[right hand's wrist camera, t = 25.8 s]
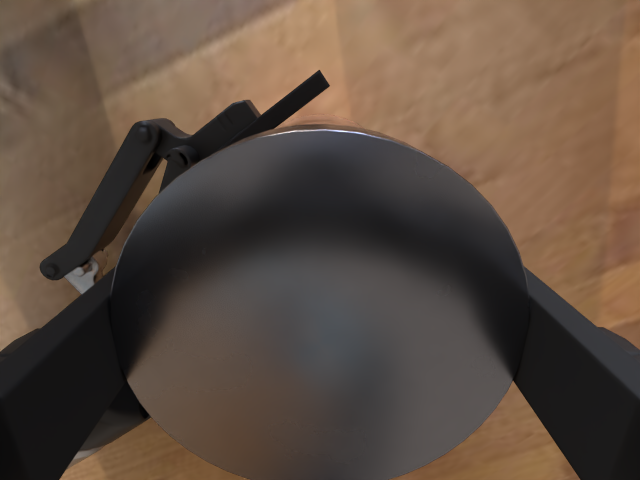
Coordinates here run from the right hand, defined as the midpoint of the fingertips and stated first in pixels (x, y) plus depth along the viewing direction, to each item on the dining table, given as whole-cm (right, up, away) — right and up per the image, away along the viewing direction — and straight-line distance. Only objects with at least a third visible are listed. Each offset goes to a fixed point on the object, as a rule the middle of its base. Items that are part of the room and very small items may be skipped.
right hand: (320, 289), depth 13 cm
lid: (0, -1, -3) cm, 3 cm away
